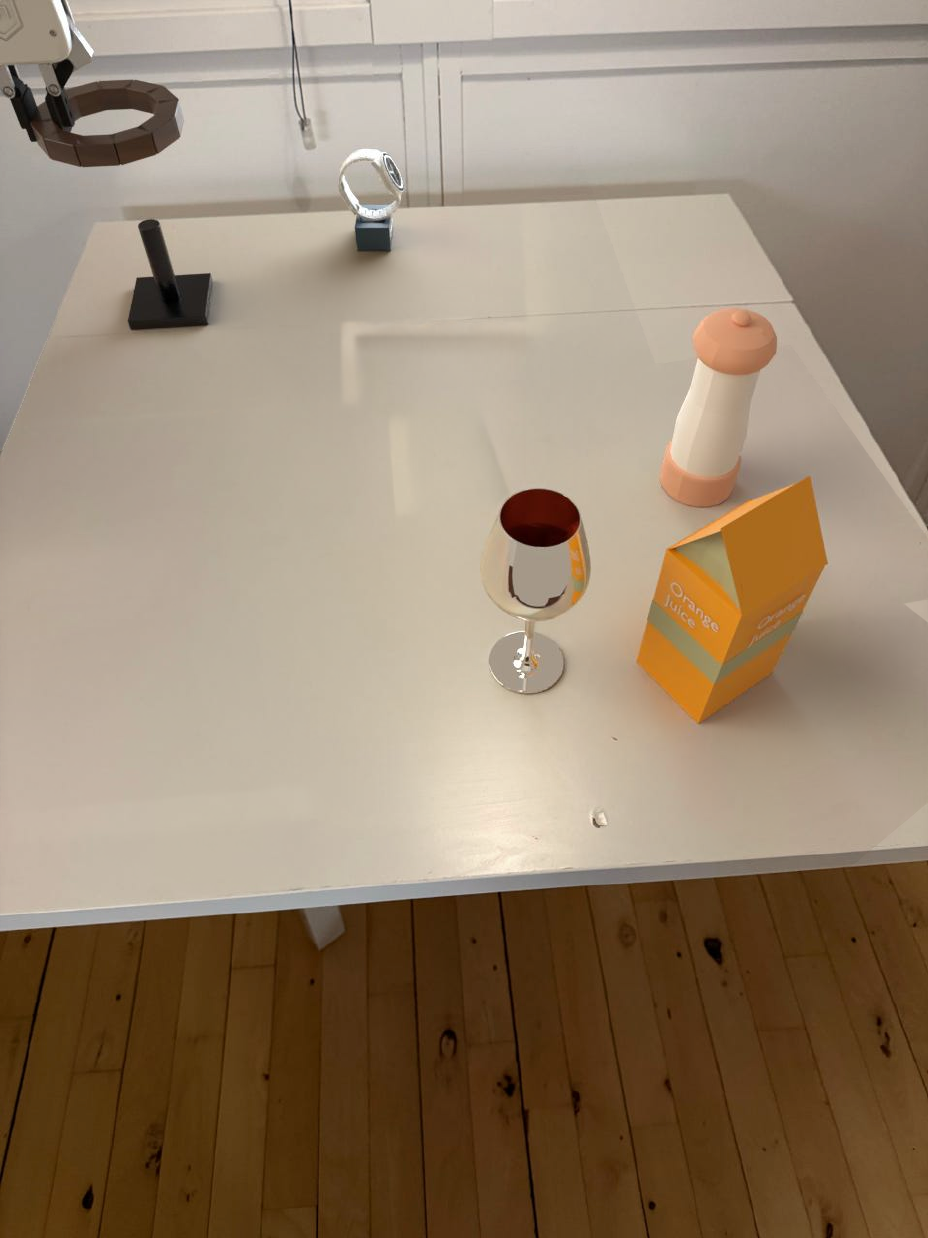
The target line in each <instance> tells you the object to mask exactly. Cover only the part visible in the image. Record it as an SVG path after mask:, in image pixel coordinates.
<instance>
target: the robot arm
mask: <svg viewBox="0 0 928 1238" xmlns="http://www.w3.org/2000/svg"><path fill="white" fill-rule="evenodd" d="M94 55H95V52H94V50H93V48H92V47H91V46H90V44H89V42H88V41H87V40H86V38H85V37H84V35H83V34H82V33H81V31H80V30H79V28H78V27H77V26H76V22H75V19H74V15H73V13H72V10H71V7H70V4H69V1H68V0H0V91H1V94H2V95H3V96H4V97H5V98H7V99H9V101H10V103H11V106H12V108H13V110H14V113H15V116H16V117H17V118H16V119H17V121H18V123H19V126H20V128H21V129H22V130H25V131H26V133H27V136H28V138H29V141H30V142H31V143H37V140H36V138H35V135H34V132H33V130H32V127H31V124H30V122H31V120H32V118H33V116H34V113H35V111H36V109H37V106H38V105H37V101H35V97H34V94H33V92H32V88H31V87H30V86H29V85H28V84H27V83H25V82H24V81H23V80H22V77H21V75H20V72H19V69H18V66H21V65H23V66H25V65H26V66H27V65H37V66H38V68H39V71H40V74H41V77H42V80H43V82H44V85H45V91H46V95H45V96H44V102H46V104H47V107H48V110H49V113H50V116H51V118H52V120H53V121H54V123H55V124H56V125H57V126H58V127H59V128H60V129H61V130H63V131H67V132H71V133H72V130H73V128H74V127H75V125H76V121H75V119H74V115H73V112H72V109H71V106H70V103H69V100H68V97H67V94H66V91H65V90H66V88H65V86H66V84H67V83H68V81H69V80H70V78H71V76H72V74H73V73H74V72H76V71H79V70H80V69H82V68H83V67H85V66H88V65H89V64H90V63H92V60H93V57H94Z"/></svg>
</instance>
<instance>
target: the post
mask: <svg viewBox="0 0 928 1238" xmlns="http://www.w3.org/2000/svg"><path fill="white" fill-rule="evenodd" d="M137 230H138V231H139V235H140V238H141V241H142V245H143V247H144V251H145V255H146V257H147V259H148V260H147V261H148V264H149V267H150V270H151V273H152V276H138V277H136V279H135V282H134V283H135V284H134V288H133V294H132V299H131V303H130V308H129V312H128V317H127V324H128V327H129V329H130V330H132V331H134V330H148V329H150V330H151V329H162V328H164V329H165V328H180V327H194V326H196V327H197V326H208V325H209V318H210V310H209V309H211V302H210V297H211V298H212V293H211V289H212V290H213V285H212V280H213V276H212V273H211V272H206V273H205V272H204V273H190V274H189V273H188V274H175V271H174V267H173V263H172V260H171V258H170V257H171V256H170V254H169V250H168V247H167V246H168V245H167V244H166V243H167V242H166V240H165V236H164V233H163V229H162V226H161V223H160V221H159V220H157V219H154V218H148V219H144V220H142V221H140V222H138V225H137Z"/></svg>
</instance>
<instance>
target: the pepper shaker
mask: <svg viewBox="0 0 928 1238" xmlns="http://www.w3.org/2000/svg"><path fill="white" fill-rule="evenodd" d="M692 343H693V348H694V351H695V354H696V356H697V360H696V364H695V367H694V372H693V375H692V379H691V384H690V387H689V389H688V392H687V394H686V397H685V399H684V400H683V403H682V405H681V407H680V409H679V411H678V414H677V417H676V420H675V423H674V424H675V425H674V429H673V434H672V438H671V439H670V441H669V442H668V444H667V445H666V447H665V452H664V455H663V456H664V457H663V461H662V465H661V469H660V475H659V481H660V484H661V487H662V489H663V490H664V492H665V493H666V494H667V495H668V496H669V497H671V498H672V499H673V500H675V501H677V502H679V503H681V504H683V505H686V506H691V507H697V508H704V507H705V508H706V507H708V508H709V507H713V506H715V505H719V504H721V503H723V502H724V501H726V500H727V499H729V497H730V496H731V495H732V492H733V491H734V487H735V484H736V482H737V478H738V475H739V472H740V469H741V466H742V465H741V464H742V457H741V453H742V450H743V448H744V445H745V442H746V440H747V436H748V428H749V427H748V426H749V419H750V409H751V403H752V399H753V396H754V392H755V389H756V385H757V383H758V380H759V376H760V373H761V370H763V369H764V368H765V367H766V366H768V365H769V364H770V362H771V361H772V359H774V356H776V354H777V352H778V351H777V349H778V336H777V334H776V332H775V330H774V327H773V325H772V323H771V322H770V321H769V320H768V319H767V318H766V317H764V316H763V315H762V314H759V313H758V312H755V311H753V310H749V309H745V308H737V307H729V308H726V307H725V308H722V309H718V310H715V311H712V313H709V314H708V315H707V316H705V317H704V318H703V319H702V320H701V321H700V323H699V324H698V325H697V326H696V328H695V331H694V332H693V338H692Z"/></svg>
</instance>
